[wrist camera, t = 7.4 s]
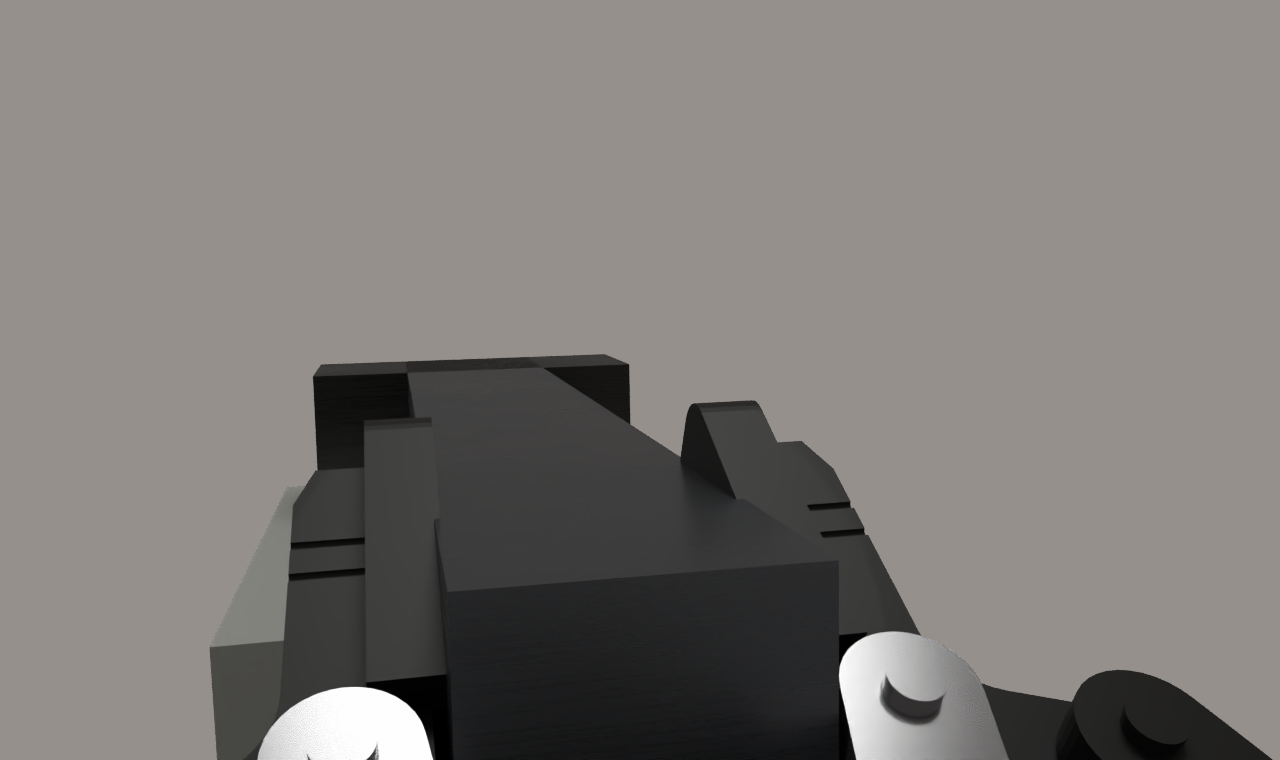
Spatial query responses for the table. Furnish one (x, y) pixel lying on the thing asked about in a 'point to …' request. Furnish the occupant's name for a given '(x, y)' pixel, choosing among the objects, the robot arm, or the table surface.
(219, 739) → the tall step
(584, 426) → the t handle
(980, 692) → the robot arm
